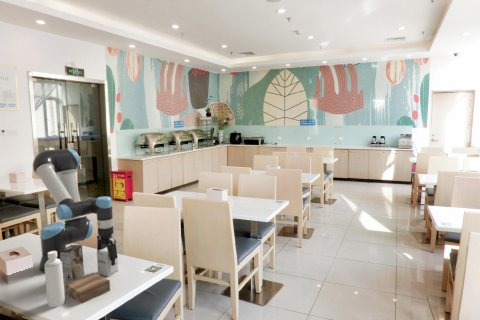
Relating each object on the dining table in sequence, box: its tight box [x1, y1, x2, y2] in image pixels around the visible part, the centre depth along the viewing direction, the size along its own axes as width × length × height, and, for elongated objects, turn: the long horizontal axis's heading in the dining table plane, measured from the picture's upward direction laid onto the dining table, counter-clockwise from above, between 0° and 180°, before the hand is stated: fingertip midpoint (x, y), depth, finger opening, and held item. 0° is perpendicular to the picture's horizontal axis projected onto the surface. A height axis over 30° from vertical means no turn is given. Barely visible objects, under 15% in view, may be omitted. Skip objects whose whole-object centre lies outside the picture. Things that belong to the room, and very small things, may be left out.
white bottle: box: [44, 251, 66, 308], centre depth 149 cm, size 7×7×25 cm
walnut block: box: [64, 272, 111, 304], centre depth 160 cm, size 14×14×5 cm
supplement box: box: [96, 247, 119, 277], centre depth 179 cm, size 7×7×13 cm
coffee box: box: [60, 244, 85, 283], centre depth 174 cm, size 9×6×16 cm
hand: (108, 268), depth 180 cm, fingers closed on supplement box, 8 cm apart
